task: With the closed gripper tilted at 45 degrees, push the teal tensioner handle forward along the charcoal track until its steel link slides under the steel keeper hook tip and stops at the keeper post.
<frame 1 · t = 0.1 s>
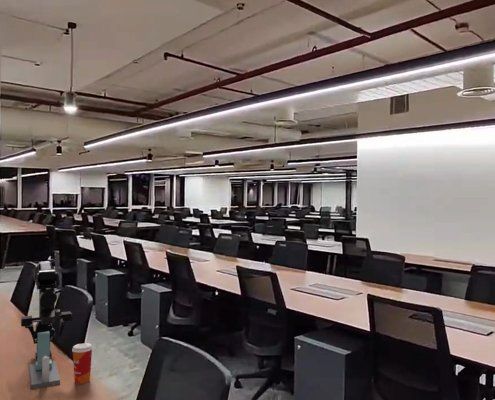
hand: (47, 340, 179), 15 cm above the table, tool pointing down, fingers open, 9 cm apart
paper cup: (82, 381, 174), on the table
tensioner: (43, 351, 183), point 9 cm above the table, slide at 0.0 cm
track: (44, 375, 179), on the table
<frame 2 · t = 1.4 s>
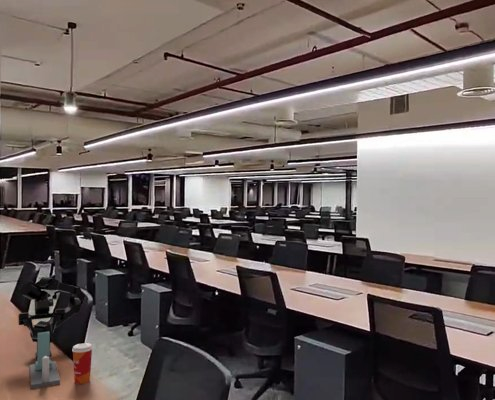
hand: (43, 333, 191), 14 cm above the table, tool tilted 45°, fingers open, 7 cm apart
nothing on the table moved.
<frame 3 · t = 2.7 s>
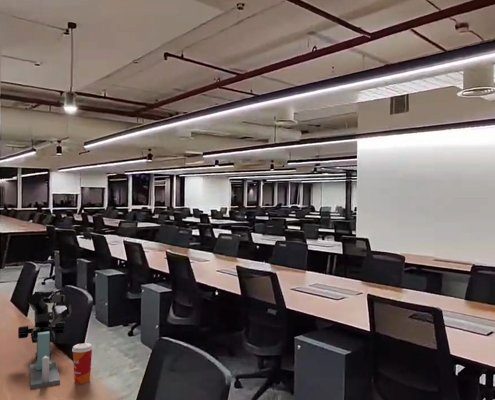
hand: (42, 347, 190), 8 cm above the table, tool tilted 45°, fingers closed
nothing on the table moved.
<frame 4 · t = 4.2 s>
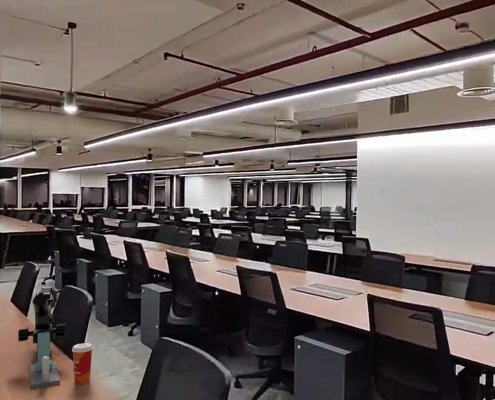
hand: (43, 350, 185), 8 cm above the table, tool tilted 45°, fingers closed, pressing on tensioner
tensioner: (44, 352, 182), point 9 cm above the table, slide at 1.0 cm, touching gripper
everything else where it was.
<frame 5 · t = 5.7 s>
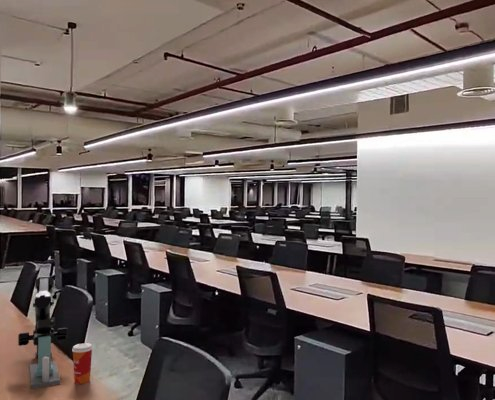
hand: (44, 355, 180), 8 cm above the table, tool tilted 45°, fingers closed, pressing on tensioner
tensioner: (44, 356, 176), point 9 cm above the table, slide at 7.3 cm, touching gripper
everything else where it was.
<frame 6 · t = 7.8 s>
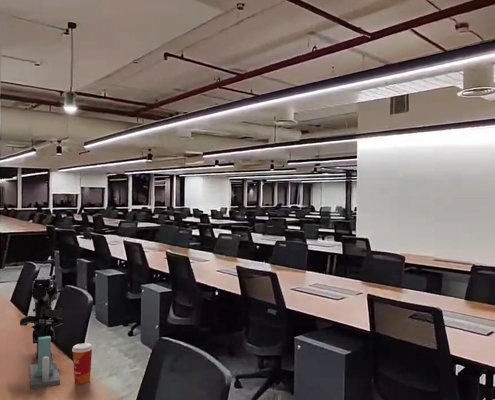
hand: (43, 341, 190), 11 cm above the table, tool tilted 25°, fingers closed
tensioner: (44, 356, 176), point 9 cm above the table, slide at 7.2 cm
everything else where it was.
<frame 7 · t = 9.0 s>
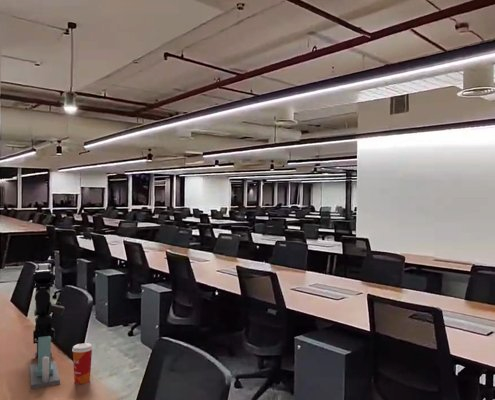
hand: (42, 335, 190), 13 cm above the table, tool pointing down, fingers closed
nothing on the table moved.
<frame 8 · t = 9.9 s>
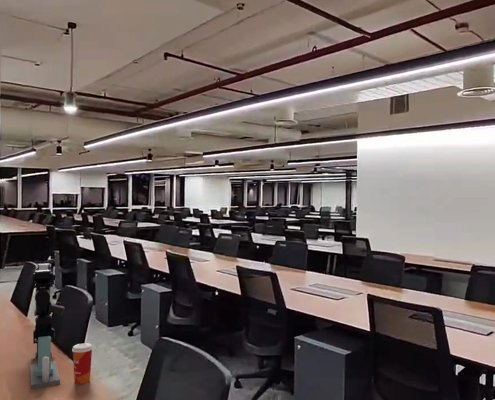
hand: (42, 335, 190), 13 cm above the table, tool pointing down, fingers closed
nothing on the table moved.
at the end: tensioner slide at 7.2 cm; paper cup moved 0.2 cm from its start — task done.
